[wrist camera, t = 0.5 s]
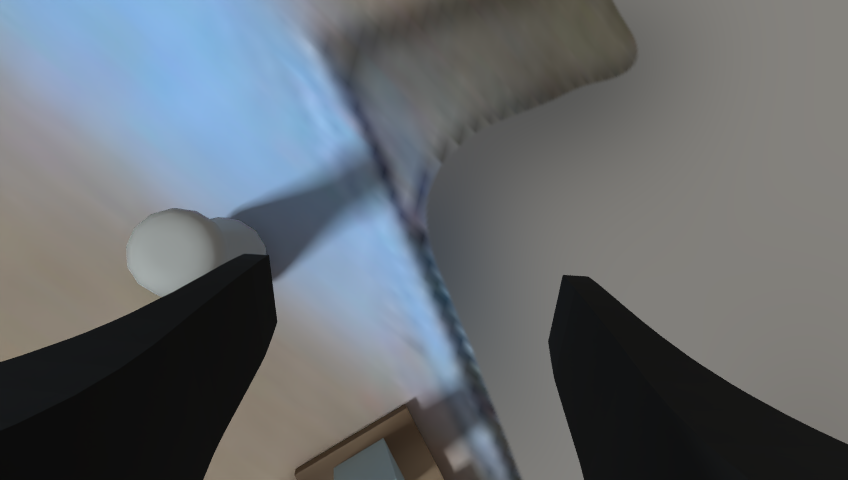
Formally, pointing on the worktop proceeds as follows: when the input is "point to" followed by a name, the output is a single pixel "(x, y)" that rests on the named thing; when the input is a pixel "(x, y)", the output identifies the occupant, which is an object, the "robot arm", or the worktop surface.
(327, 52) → the worktop surface
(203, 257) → the salt shaker
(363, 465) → the peg
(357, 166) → the worktop surface
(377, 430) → the board
